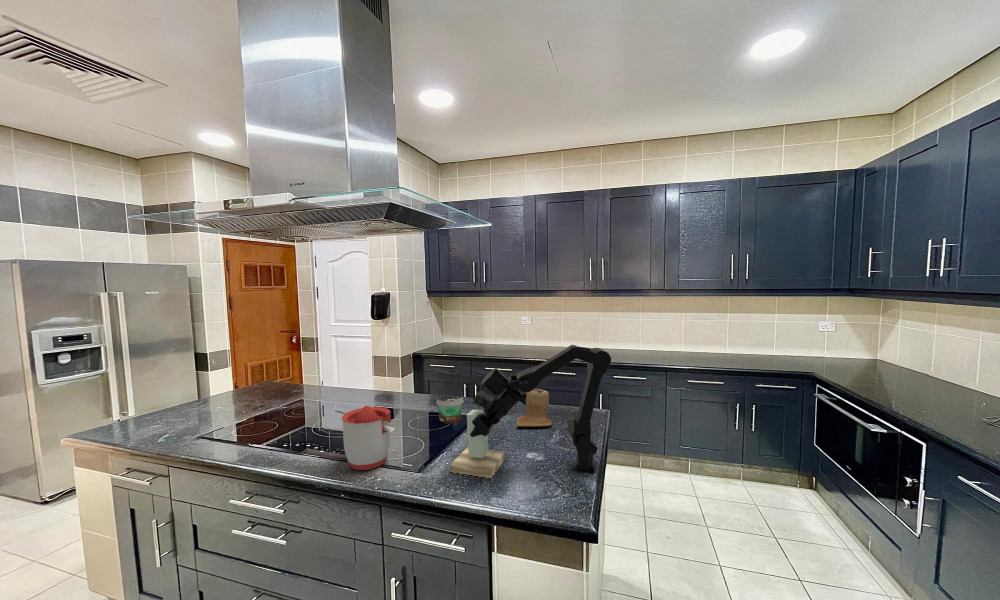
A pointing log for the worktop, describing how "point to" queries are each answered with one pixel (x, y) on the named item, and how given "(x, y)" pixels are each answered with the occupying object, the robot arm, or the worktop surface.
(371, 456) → the citrus juicer
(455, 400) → the food container
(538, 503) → the worktop surface
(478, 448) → the sage block
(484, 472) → the birch base
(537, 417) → the stone cup
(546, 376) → the robot arm
